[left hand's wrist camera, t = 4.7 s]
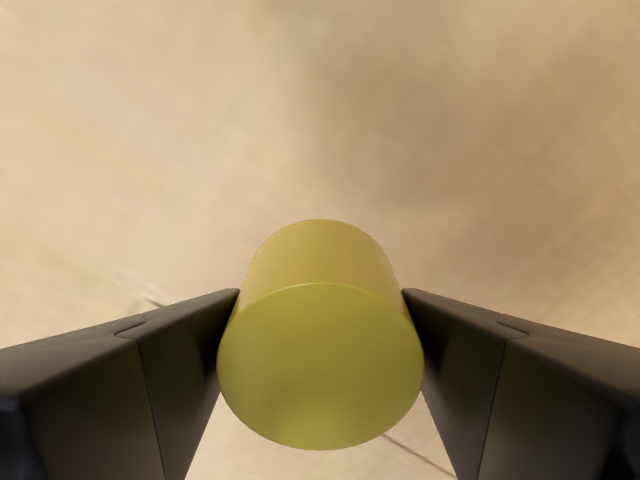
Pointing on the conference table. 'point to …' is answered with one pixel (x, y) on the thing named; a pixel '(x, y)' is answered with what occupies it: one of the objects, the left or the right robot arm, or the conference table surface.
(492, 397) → the left robot arm
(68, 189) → the conference table surface
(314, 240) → the canister
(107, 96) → the conference table surface
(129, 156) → the conference table surface
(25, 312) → the conference table surface
